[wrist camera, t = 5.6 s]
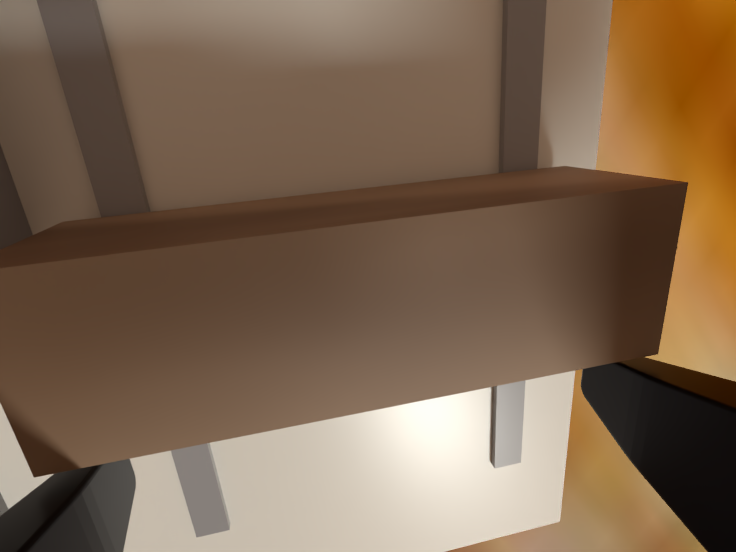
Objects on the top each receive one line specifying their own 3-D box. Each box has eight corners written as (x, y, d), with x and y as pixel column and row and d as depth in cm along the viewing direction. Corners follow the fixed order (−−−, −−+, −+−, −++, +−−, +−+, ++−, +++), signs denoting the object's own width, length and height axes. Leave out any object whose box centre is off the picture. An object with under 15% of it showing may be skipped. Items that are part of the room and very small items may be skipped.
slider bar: (555, 292, 10) (658, 354, 8) (110, 365, 9) (33, 477, 6) (565, 165, 9) (688, 183, 7) (63, 221, 8) (-58, 276, 5)
